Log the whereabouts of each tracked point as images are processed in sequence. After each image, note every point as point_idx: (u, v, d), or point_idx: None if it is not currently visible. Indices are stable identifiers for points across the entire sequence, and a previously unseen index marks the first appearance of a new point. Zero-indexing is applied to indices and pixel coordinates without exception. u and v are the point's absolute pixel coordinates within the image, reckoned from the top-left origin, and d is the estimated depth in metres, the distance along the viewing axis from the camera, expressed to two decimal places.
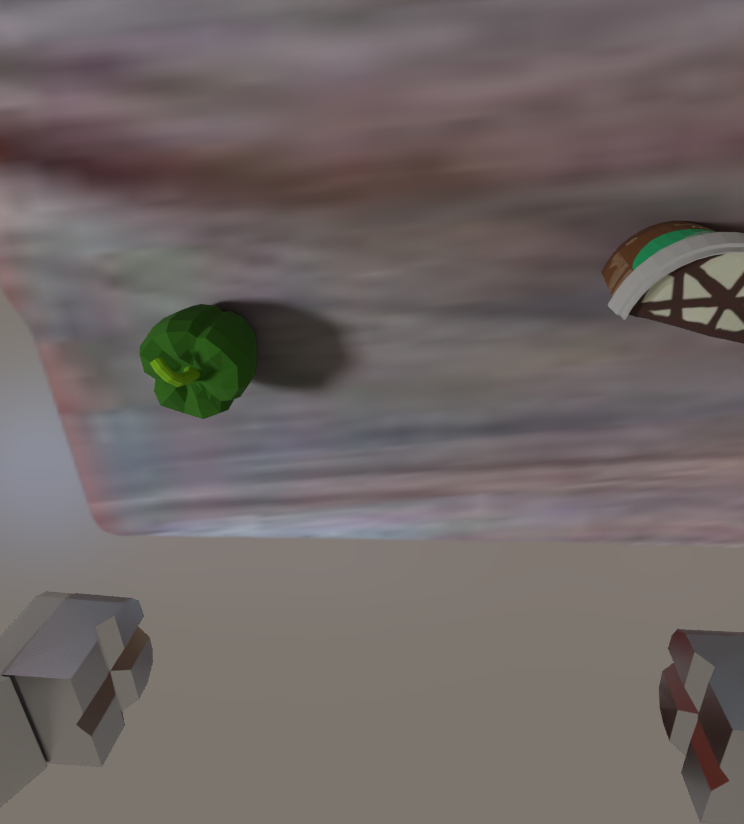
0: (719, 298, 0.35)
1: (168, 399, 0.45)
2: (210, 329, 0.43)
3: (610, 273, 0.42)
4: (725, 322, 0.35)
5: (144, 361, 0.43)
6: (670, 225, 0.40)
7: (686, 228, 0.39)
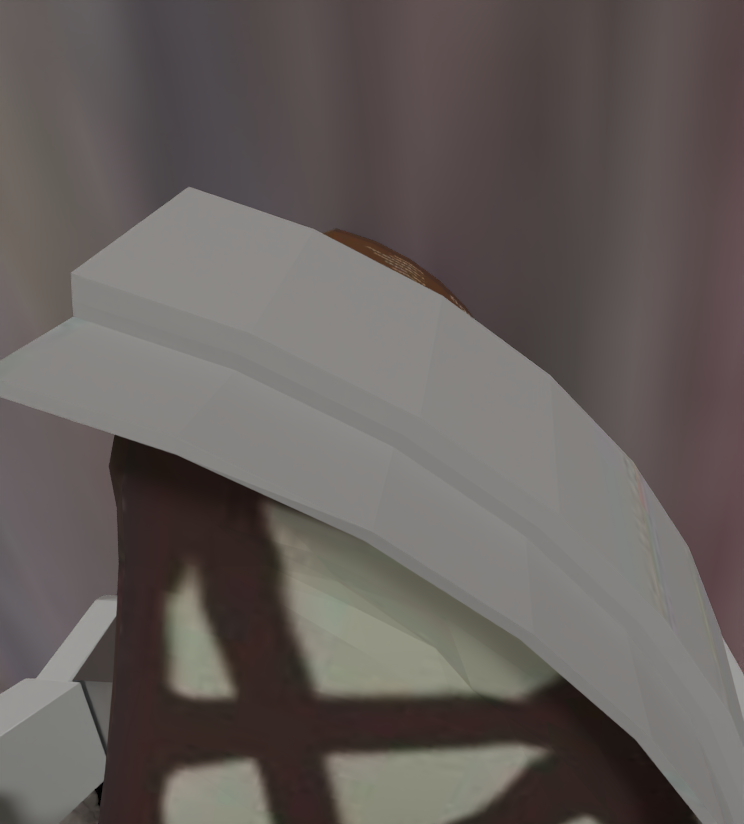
0: None
1: None
2: None
3: (355, 251, 0.10)
4: None
5: None
6: None
7: None
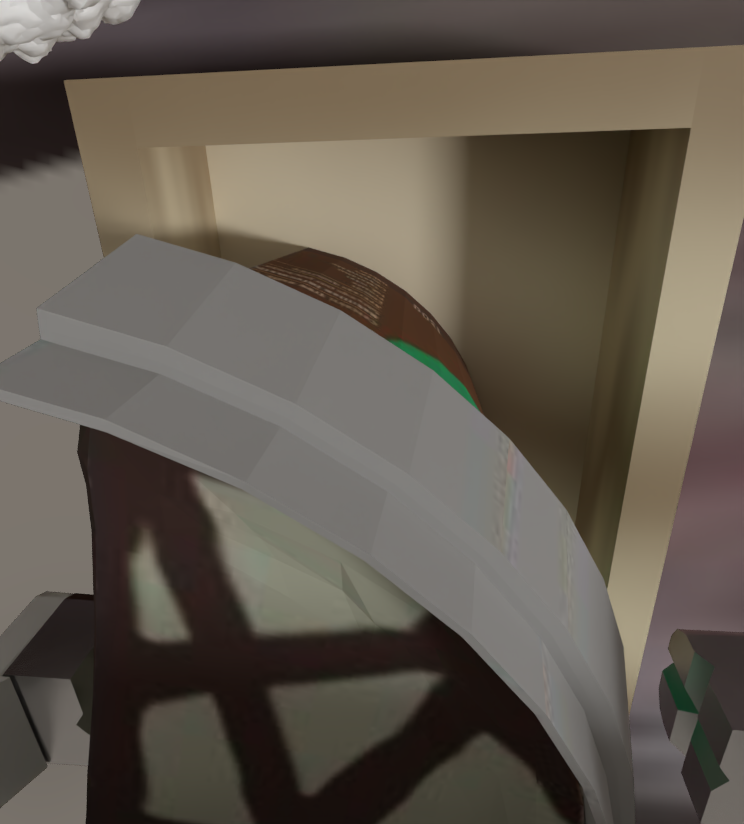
0: (304, 823, 0.06)
1: None
2: None
3: (318, 268, 0.11)
4: None
5: None
6: None
7: None
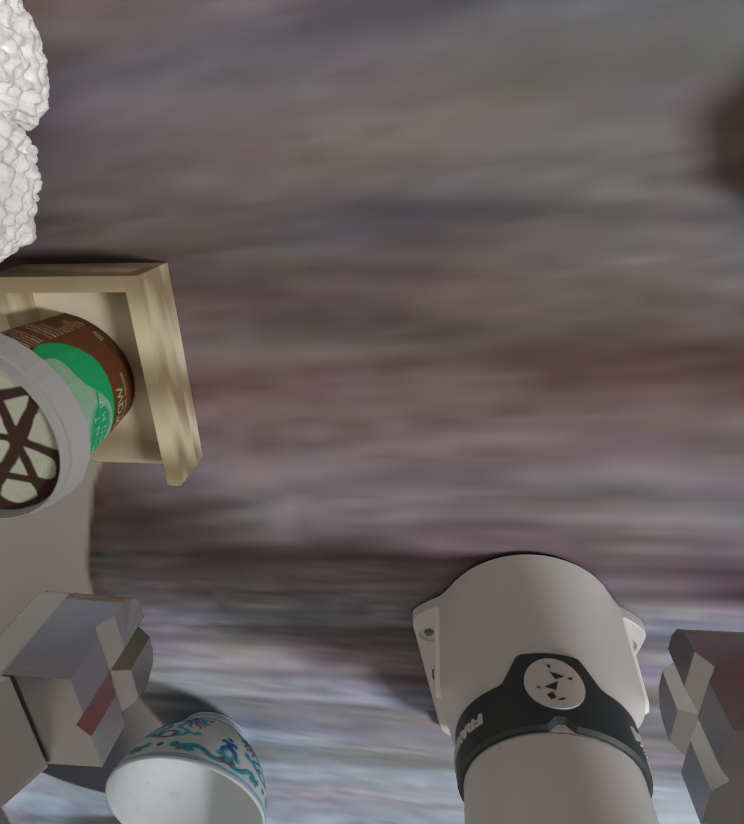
0: (17, 433, 0.34)
1: None
2: None
3: (54, 322, 0.38)
4: None
5: None
6: (120, 368, 0.40)
7: (112, 383, 0.39)
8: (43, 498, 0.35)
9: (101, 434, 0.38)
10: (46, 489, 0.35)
